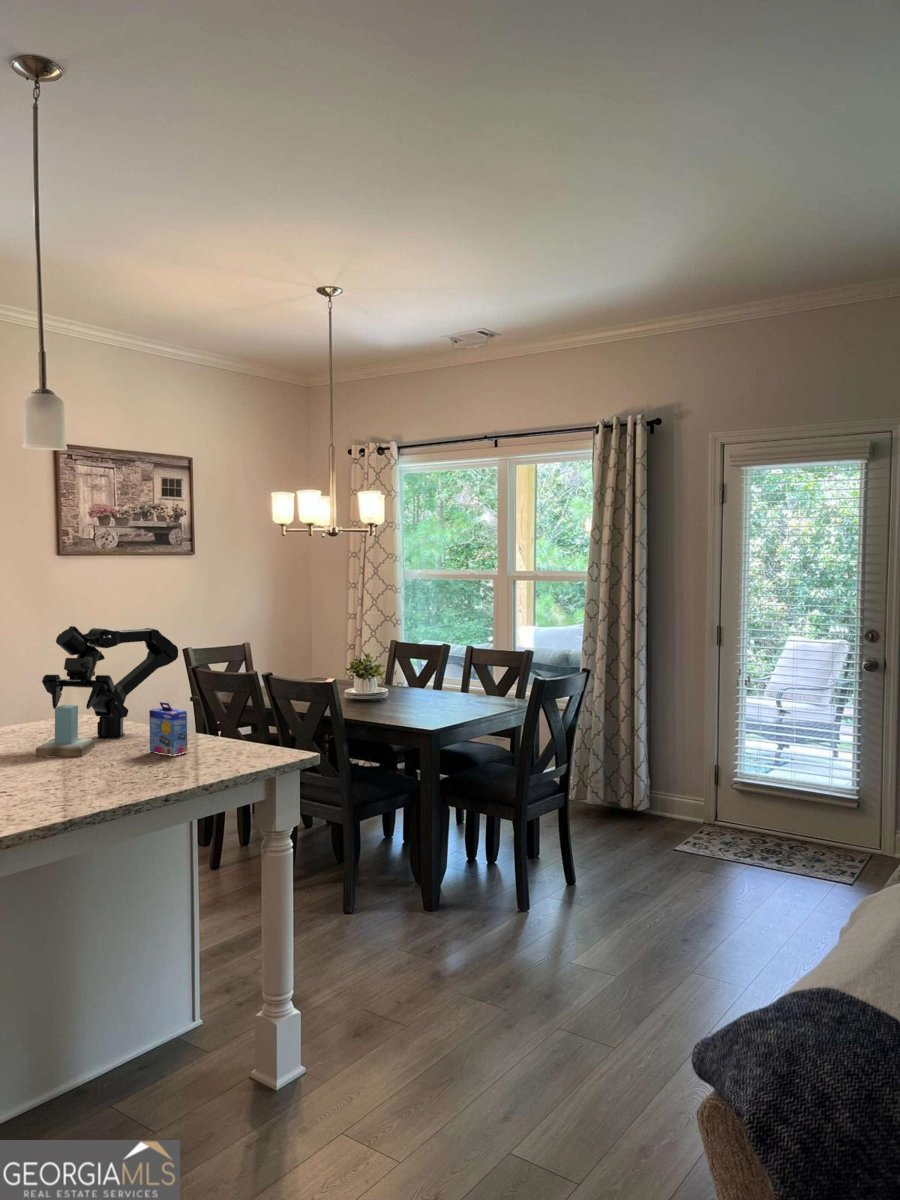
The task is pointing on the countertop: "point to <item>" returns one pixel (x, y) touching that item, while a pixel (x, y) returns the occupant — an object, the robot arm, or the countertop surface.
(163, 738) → the ink cartridge box
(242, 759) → the countertop surface
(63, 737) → the block
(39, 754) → the stand
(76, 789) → the countertop surface
